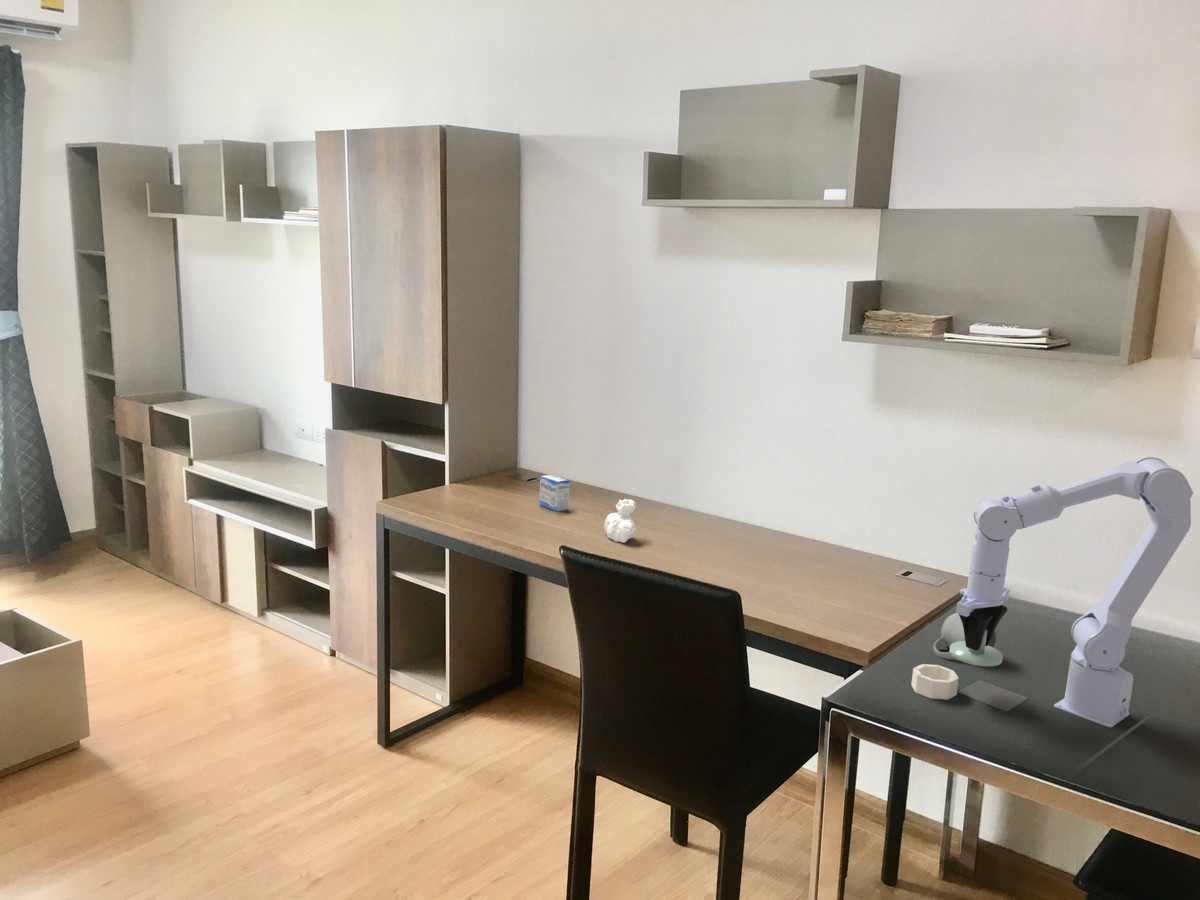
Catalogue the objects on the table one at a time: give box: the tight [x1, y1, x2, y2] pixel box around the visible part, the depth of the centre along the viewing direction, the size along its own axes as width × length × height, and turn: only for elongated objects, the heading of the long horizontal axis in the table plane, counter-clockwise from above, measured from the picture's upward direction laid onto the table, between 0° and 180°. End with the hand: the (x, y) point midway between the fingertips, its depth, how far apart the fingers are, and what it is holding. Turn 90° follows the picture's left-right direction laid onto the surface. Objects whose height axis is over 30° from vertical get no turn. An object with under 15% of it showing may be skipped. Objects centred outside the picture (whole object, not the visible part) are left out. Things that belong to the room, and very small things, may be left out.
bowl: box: [910, 663, 959, 700], centre depth 174 cm, size 7×7×4 cm
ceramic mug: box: [933, 612, 998, 661], centre depth 190 cm, size 11×8×8 cm
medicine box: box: [538, 474, 570, 512], centre depth 280 cm, size 8×4×9 cm, turn 43°
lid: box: [948, 630, 1004, 667], centre depth 172 cm, size 9×9×5 cm
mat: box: [957, 679, 1029, 712], centre depth 173 cm, size 9×8×1 cm
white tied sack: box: [603, 498, 637, 544], centre depth 254 cm, size 12×8×11 cm
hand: (976, 646), depth 172 cm, fingers closed on lid, 3 cm apart
